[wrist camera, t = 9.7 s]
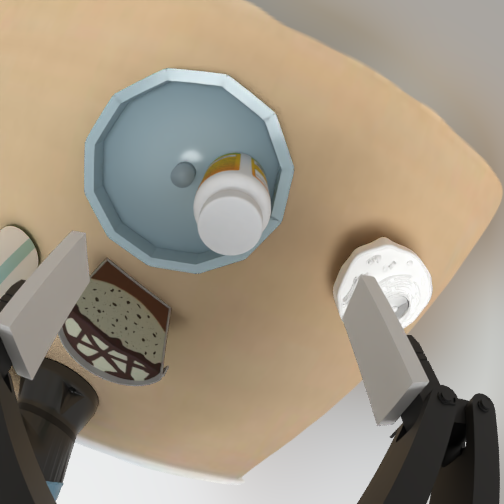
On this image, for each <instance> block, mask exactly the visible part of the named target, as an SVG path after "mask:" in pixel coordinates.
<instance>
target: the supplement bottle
mask: <svg viewBox="0 0 504 504" xmlns="http://www.w3.org/2000/svg"><path fill="white" fill-rule="evenodd" d="M193 210H194V217H195V220H196V223H197V227H198V233H199V235H200V238H201V240H202V241H203V243H204V244H205V245H206V246H207V247H208V248H210V249H211V250H212V251H214V252H216V253H219V254H222V255H230V256H231V255H239V254H243V253H245V252H247V251H249V250H250V249H252V248H253V247H254V246H255V245H256V244H257V242H258V241H259V239H260V237H261V235H262V232H263V231H264V229H265V228H266V226H267V225H268V222H269V219H270V215H271V200H270V195H269V190H268V185H267V179H266V175H265V172H264V170H263V168H262V166H261V165H260V164H259V162H258V161H257V160H256V159H254V158H253V157H251V156H249V155H247V154H244V153H239V152H232V153H227V154H224V155H221V156H219V157H218V158H216V159H215V160H214V161H213V162H212V163H211V164H210V166H209V167H208V169H207V171H206V173H205V175H204V177H203V179H202V181H201V184H200V185H199V188H198V190H197V192H196V195H195V199H194V205H193Z"/></svg>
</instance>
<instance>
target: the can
mask: <svg viewBox="0 0 504 504" xmlns="http://www.w3.org/2000/svg"><path fill="white" fill-rule="evenodd" d="M37 267H38V255H37V251H36V249H35V246H34V244H33V242H32V241H31V239H30V238H29V237H28V236H27V235H26V234H25V233H24V232H23V231H22V230H20V229H19V228H17V227H14V226H6V227H4V228H3V229H1V230H0V299H1V297H2V296H3V295H5V293H6V291H7V290H8V289H9V288H10V287H11V286H12V285H13V284H15V283H16V282H18V281H19V280H21V279H22V280H27V279H28V278H29V277H30V276H31V274H32V273H33V272H34V271H35V270H36V269H37Z"/></svg>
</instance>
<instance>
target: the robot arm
mask: <svg viewBox="0 0 504 504" xmlns="http://www.w3.org/2000/svg"><path fill="white" fill-rule="evenodd" d="M89 282H90V276H89V267H88V257H87V244H86V233H83V232H77V231H71V232H70V233H69V234H68V235H67V236H66V237H65V238H64V240H63V241H62V242H61V243H60V244H59V245H58V246H57V247H56V248H55V249H54V250H53V251H52V252H51V253H50V254H49V255H48V257H47V258H46V259H45V260H44V261H43V262H42V263H41V264H40V265H39V267H38V268H37V269H36V270H35V271H34V272H33V273H32V274H31V276H30V277H29V278H28V279H27V280H22V279H21V280H19V281H18V282H16V283H15V284H13V285H12V286H11V287H10V288H9V289H8V290H7V291H6V293H5V295H3V296H2V297H1V299H0V504H56V502H55V501H56V499H57V497H58V495H59V492H60V489H61V487H62V485H63V479H64V476H65V472H66V469H67V465H68V462H69V459H70V455H71V452H72V449H73V446H74V442H75V439H76V436H77V434H78V433H79V432H80V431H81V430H82V428H83V427H84V426H85V425H86V424H87V423H88V421H89V420H90V419H91V418H92V417H93V415H94V414H95V411H96V409H97V406H98V397H97V395H96V393H95V391H94V390H93V389H92V387H91V386H90V385H89V384H88V383H87V382H86V381H85V380H84V379H83V378H82V377H80V376H79V375H78V374H76V373H75V372H73V371H72V370H70V369H69V368H67V367H65V366H63V365H62V364H59V363H57V362H55V361H52V360H49V359H46V358H44V357H45V355H46V354H47V352H48V350H49V348H50V346H51V345H52V343H53V341H54V339H55V338H56V336H57V334H58V332H59V331H60V329H61V327H62V326H63V324H64V322H65V320H66V319H67V317H68V316H69V314H70V312H71V311H72V309H73V307H74V306H75V304H76V303H77V301H78V299H79V298H80V296H81V295H82V293H83V291H84V290H85V288H86V287H87V285H88V284H89ZM342 320H343V322H344V325H345V328H346V331H347V334H348V337H349V339H350V342H351V345H352V348H353V351H354V354H355V357H356V360H357V363H358V366H359V369H360V372H361V375H362V378H363V381H364V385H365V388H366V391H367V394H368V397H369V400H370V404H371V407H372V410H373V413H374V416H375V420H376V423H377V426H381V425H391V424H394V423H395V422H396V420H397V419H398V418H399V417H400V416H401V418H402V421H403V423H402V424H401V426H400V427H399V428H398V429H397V430H396V431H395V432H394V433H393V434H392V435H391V436H390V438H393V437H394V436H395V437H394V439H393V441H392V443H391V445H390V447H389V449H388V451H387V453H386V455H385V457H384V459H383V460H382V462H381V464H380V466H379V468H378V470H377V471H376V473H375V475H374V477H373V478H372V480H371V482H370V484H369V485H368V487H367V488H366V490H365V492H364V494H363V495H362V497H361V498H360V500H359V501H358V503H357V504H426V503H427V500H428V498H429V496H430V493H431V496H430V502H429V504H499V490H500V489H499V488H500V477H499V476H500V472H499V447H498V434H497V424H496V414H495V408H494V404H493V403H492V401H491V400H490V398H488V397H487V396H486V395H484V394H480V393H479V394H475V395H474V396H473V398H472V399H471V400H470V401H467V400H463V399H458V398H457V396H456V394H455V393H454V391H453V390H451V389H450V388H449V387H447V386H444V385H440V384H439V381H438V379H437V377H436V375H435V373H434V371H433V369H432V367H431V365H430V363H429V361H427V357H426V356H425V354H423V350H422V348H421V346H420V344H419V343H418V342H417V341H416V340H415V339H414V338H413V336H412V335H406V333H405V332H404V330H403V328H402V326H401V324H400V322H399V320H398V318H397V317H396V315H395V313H394V311H393V309H392V307H391V306H390V304H389V302H388V300H387V298H386V297H385V295H384V293H383V291H382V289H381V288H380V286H379V284H378V282H377V281H376V279H375V277H373V276H366V275H360V278H359V280H358V282H357V285H356V287H355V290H354V292H353V294H352V297H351V299H350V301H349V304H348V306H347V308H346V311H345V313H344V315H343V317H342ZM12 365H13V367H14V369H15V371H16V373H17V375H20V376H21V378H20V385H19V393H18V400H17V399H16V395H15V391H14V387H13V383H12V379H11V376H10V374H9V372H8V371H9V370H10V368H11V366H12ZM465 442H466V447H465Z"/></svg>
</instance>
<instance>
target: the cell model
mask: <svg viewBox="0 0 504 504" xmlns="http://www.w3.org/2000/svg"><path fill="white" fill-rule="evenodd" d="M360 275H366V276H373V277H375V279H376V281H377V282H378V284H379V286H380V288H381V289H382V291H383V293H384V295H385V297H386V298H387V300H388V302H389V304H390V306H391V307H392V309H393V311H394V313H395V315H396V317H397V318H398V320H399V322H400V324H401V326H402V328H403V329H404V328H405V327H407V326H408V325H410V324H411V323H412V322H413V321H414V320H415V319H416V318H417V317H418V316H419V314H420V313H421V311H422V310H423V309H424V308H425V307H426V305H427V304H428V302H429V301H430V298H431V295H432V280H431V275H430V273H429V271H428V269H427V268H426V266H425V265H424V264H423V262H422V261H421V259H420V258H419V257H418V256H417V254H416V253H415V252H413V251H412V250H411V249H409V248H407V247H405V246H402V245H400V244H397V243H395V242H393V241H391V240H390V239H388V238H386V237H381V238H378V239H377V240H375V241H373V242H371V243H369V244H366V245H363V246H360V247H358V248H356V249H355V250H354V251H353V252H352V254H351V255H350V257H349V258H348V259H347V260H346V261H345V263H344V264H343V265H342V267H341V269H340V271H339V273H338V276H337V278H336V281H335V283H334V286H333V296H334V300H335V303H336V306H337V309H338V311H339V314H340V317H341V320H342V317H343V315H344V313H345V311H346V308H347V306H348V304H349V301H350V299H351V297H352V294H353V292H354V290H355V287H356V285H357V282H358V280H359V278H360ZM342 321H343V320H342Z"/></svg>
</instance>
